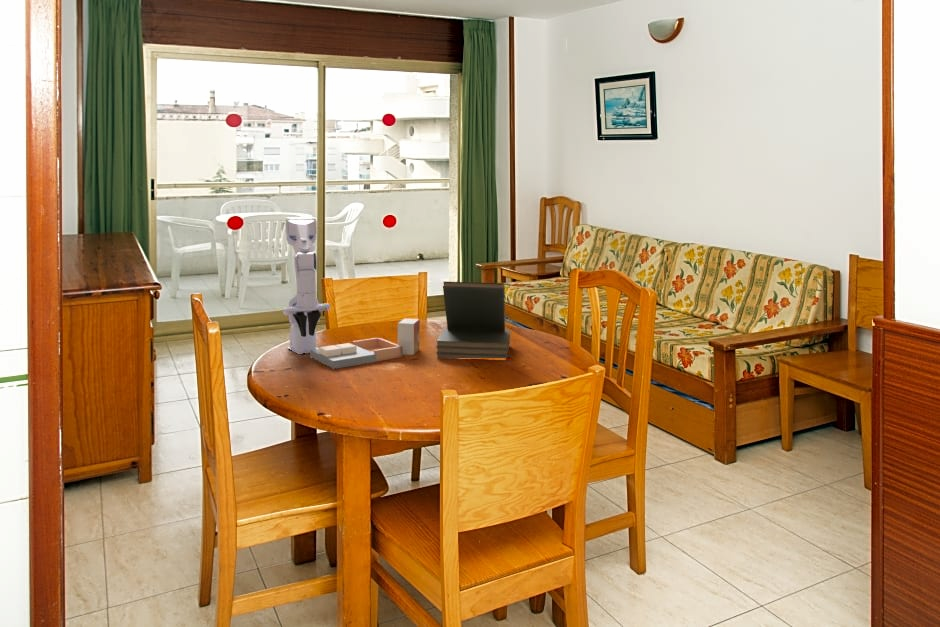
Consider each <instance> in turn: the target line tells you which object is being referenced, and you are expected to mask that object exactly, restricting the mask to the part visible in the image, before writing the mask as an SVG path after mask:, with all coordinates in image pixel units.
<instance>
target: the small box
mask: <svg viewBox="0 0 940 627" xmlns="http://www.w3.org/2000/svg"><path fill="white" fill-rule="evenodd" d="M420 321H421V320H420V319H419V318H403V319H402V320H400V321H399V322H398V323H397V345H400V346H402V351H403V355H407V356H408V355H411V356H414V355H415V354H416V353H417V352H418V351H419V350H420Z"/></svg>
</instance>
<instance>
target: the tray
mask: <svg viewBox="0 0 940 627" xmlns="http://www.w3.org/2000/svg"><path fill="white" fill-rule="evenodd" d="M352 344H353V345H356V346H358V347H360V348H363V349H365V350H368V351H370V352H372V353H375V354H376V362H380V361H387V360H393V359H398V358H403V355H404V354H403V351H402V346H400V345H398V343H394V342H393V341H390V340H386V339H385V338H381V337H371V338H366V339H359V340H358V339H357V340H352Z"/></svg>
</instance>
